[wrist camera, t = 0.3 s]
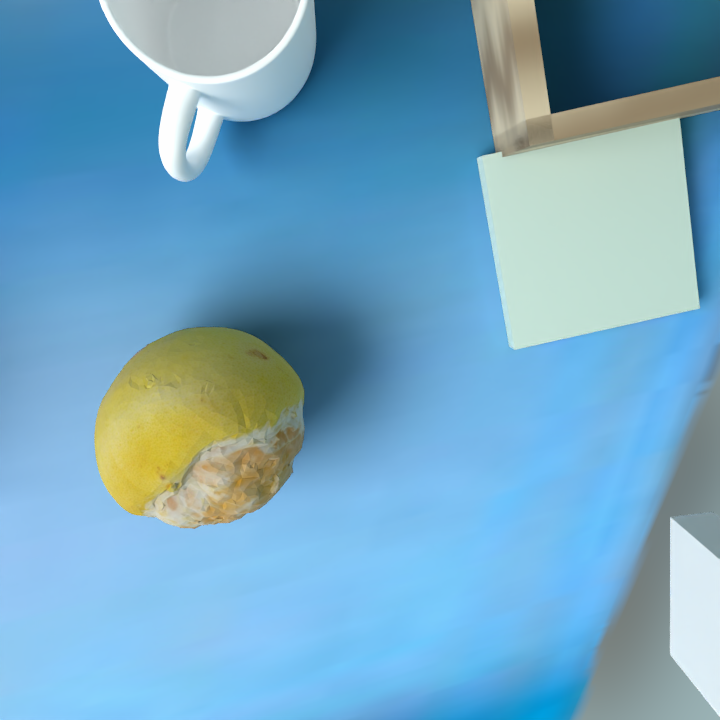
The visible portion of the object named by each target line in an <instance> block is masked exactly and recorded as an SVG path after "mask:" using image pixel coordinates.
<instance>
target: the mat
mask: <svg viewBox="0 0 720 720" xmlns="http://www.w3.org/2000/svg"><path fill="white" fill-rule="evenodd" d="M477 162H478V168H479V174H480V179H481V185H482V191H483V197H484V203H485V209H486V214H487V220H488V226H489V232H490V238H491V244H492V249H493V255H494V261H495V267H496V273H497V279H498V284H499V290H500V296H501V302H502V308H503V314H504V319H505V325H506V331H507V337H508V343H509V346H510V347H511V348H513V349H514V350H516V349H520V348H525V347H529V346H534V345H538V344H543V343H547V342H552V341H556V340H560V339H565V338H569V337H574V336H578V335H583V334H587V333H592V332H596V331H601V330H605V329H610V328H614V327H619V326H623V325H628V324H632V323H636V322H641V321H645V320H650V319H654V318H659V317H663V316H668V315H672V314H677V313H681V312H686V311H690V310H695V309H699V308H700V306H699V296H698V287H697V277H696V268H695V259H694V249H693V240H692V230H691V221H690V211H689V202H688V192H687V183H686V173H685V164H684V154H683V145H682V135H681V126H680V118H676V119H671V120H667V121H663V122H658V123H654V124H649V125H645V126H640V127H636V128H631V129H627V130H622V131H618V132H613V133H609V134H604V135H600V136H595V137H591V138H586V139H582V140H577V141H573V142H568V143H564V144H559V145H555V146H550V147H546V148H541V149H537V150H533V151H528V152H524V153H519V154H515V155H510V156H506V157H502V152H497V153H493V154H488V155H484V156H481V157H479V158H477Z"/></svg>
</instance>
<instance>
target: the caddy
mask: <svg viewBox="0 0 720 720" xmlns="http://www.w3.org/2000/svg"><path fill="white" fill-rule="evenodd" d="M471 6H472V12H473V18H474V24H475V30H476V36H477V42H478V48H479V54H480V60H481V66H482V72H483V79H484V85H485V91H486V97H487V103H488V109H489V115H490V121H491V127H492V133H493V139H494V145H495V151H496V153H497V152H502V157H506V156H510V155H515V154H519V153H524V152H528V151H533V150H537V149H541V148H546V147H550V146H555V145H559V144H564V143H568V142H573V141H577V140H582V139H586V138H591V137H595V136H600V135H604V134H609V133H613V132H618V131H622V130H627V129H631V128H636V127H640V126H645V125H649V124H654V123H658V122H663V121H667V120H671V119H676V118H680V119H681V118H685V117H690V116H694V115H699V114H703V113H708V112H712V111H717V110H720V77H715V78H711V79H706V80H702V81H697V82H693V83H688V84H684V85H679V86H675V87H670V88H666V89H661V90H657V91H652V92H648V93H643V94H639V95H634V96H630V97H625V98H621V99H616V100H612V101H607V102H603V103H598V104H594V105H589V106H585V107H581V108H576V109H572V110H567V111H563V112H558V113H554V114H551V113H550V106H549V99H548V93H547V86H546V79H545V72H544V65H543V58H542V51H541V45H540V38H539V31H538V24H537V17H536V10H535V3H534V0H471Z"/></svg>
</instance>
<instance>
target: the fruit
mask: <svg viewBox="0 0 720 720" xmlns="http://www.w3.org/2000/svg"><path fill="white" fill-rule="evenodd" d="M303 405H304V388H303V385H302V382H301V380H300V378H299V376H298V375H297V373H296V372H295V371H294V369H293V368H292V367H291V366H290V365H289V364H288V362H287V361H286V360H285V359H284V358H283V357H282V356H280V355H279V354H278V353H277V352H276V351H274V350H273V349H272V348H271V347H270V346H268V345H267V344H266V343H264V342H263V341H262V340H260V339H258V338H257V337H255V336H253V335H250V334H248V333H246V332H243V331H240V330H236V329H231V328H224V327H196V328H187V329H183V330H179V331H176V332H174V333H171V334H169V335H167V336H164V337H162V338H160V339H158V340H156V341H154V342H152V343H150V344H147V346H146V347H144V348H143V349H141V350H140V351H139V352H137V353H136V354H135V355H134V356H133V357H132V358H131V359H130V360H129V362H128V363H127V364H126V365H125V366H124V367H123V369H122V370H121V372H120V373H119V374H118V376H117V377H116V379H115V380H114V382H113V383H112V385H111V386H110V388H109V390H108V391H107V393H106V395H105V396H104V398H103V400H102V402H101V405H100V407H99V410H98V414H97V418H96V425H95V453H96V460H97V465H98V470H99V473H100V476H101V478H102V481H103V483H104V484H105V486H106V488H107V490H108V492H109V493H110V494H111V496H112V497H113V498H114V499H115V500H116V502H117V503H118V504H119V505H120V506H121V507H122V508H123V509H125V510H126V511H128V512H129V513H131V514H134V515H140V516H147V517H157V518H158V519H160V520H162V521H163V522H165V523H167V524H170V525H173V526H178V527H180V528H194V529H195V528H197V527H199V526H201V525H208V524H217V523H230V522H232V521H234V520H237V519H240V518H242V517H243V516H244V515H245V514H246V513H251V512H254V511H256V510H258V509H260V508H261V507H263V506H264V505H265V504H266V503H267V502H268V501H269V500H270V499H271V498H272V497H273V496H274V495H275V494H276V493H277V492H278V491H279V490H280V488H281V487H282V486H283V484H284V483H285V482H286V481H287V479H288V478H289V477H290V475H291V473H293V470H292V465H293V460H294V457H295V456H296V455H297V454H298V452H299V451H300V450H301V448H302V443H303V439H304V429H305V427H304V420H303Z"/></svg>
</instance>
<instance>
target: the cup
mask: <svg viewBox="0 0 720 720" xmlns="http://www.w3.org/2000/svg"><path fill="white" fill-rule="evenodd" d="M99 1H100V4H101V6H102V9H103V11H104V13H105V15H106V17H107V19H108V21H109V23H110V24H111V26H112V28H113V29H114V31H115V32H116V34H117V35H118V36H119V38H120V39H121V40H122V41H123V43H124V44H125V45H126V46H127V47H128V48H129V49H130V50H131V51H132V52H133V53H134V54H135V55H136V56H137V57H138V58H139V59H141V60H142V61H143V62H144V63H145V64H146V65H147V66H148V67H149V68H150V69H152V70H153V71H154V72H155V73H156V74H157V75H158V76H160V77H161V78H162V79H163V80H164V81H165V82H166V83H167V84H168V85H169V88H168V92H167V96H166V100H165V104H164V108H163V113H162V118H161V123H160V130H159V152H160V156H161V160H162V163H163V165H164V167H165V169H166V170H167V172H168V173H169V174H170V175H171V176H172V177H173V178H175V179H177V180H179V181H185V182H187V181H191V180H193V179H195V178H196V177H197V176H199V175H200V174H201V172H202V171H203V170H204V168H205V166H206V164H207V162H208V160H209V158H210V156H211V153H212V151H213V148H214V145H215V143H216V140H217V137H218V134H219V131H220V128H221V125H222V121H223V119H224V120H229V121H239V122H243V121H254V120H258V119H262V118H265V117H268V116H270V115H272V114H274V113H276V112H278V111H279V110H281V109H282V108H284V107H285V106H286V105H288V104H289V103H290V102H291V101H292V100H293V99H294V98H295V97H296V95H297V94H298V93H299V92H300V90H301V89H302V87H303V86H304V84H305V82H306V80H307V78H308V76H309V74H310V71H311V68H312V65H313V61H314V56H315V49H316V23H315V8H314V0H99ZM196 108H198V112H197V117H196V122H195V126H194V130H193V134H192V138H191V141H190V144H189V147H188V150H187V152H186V144H187V138H188V134H189V130H190V127H191V124H192V120H193V117H194V114H195V111H196Z"/></svg>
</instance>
